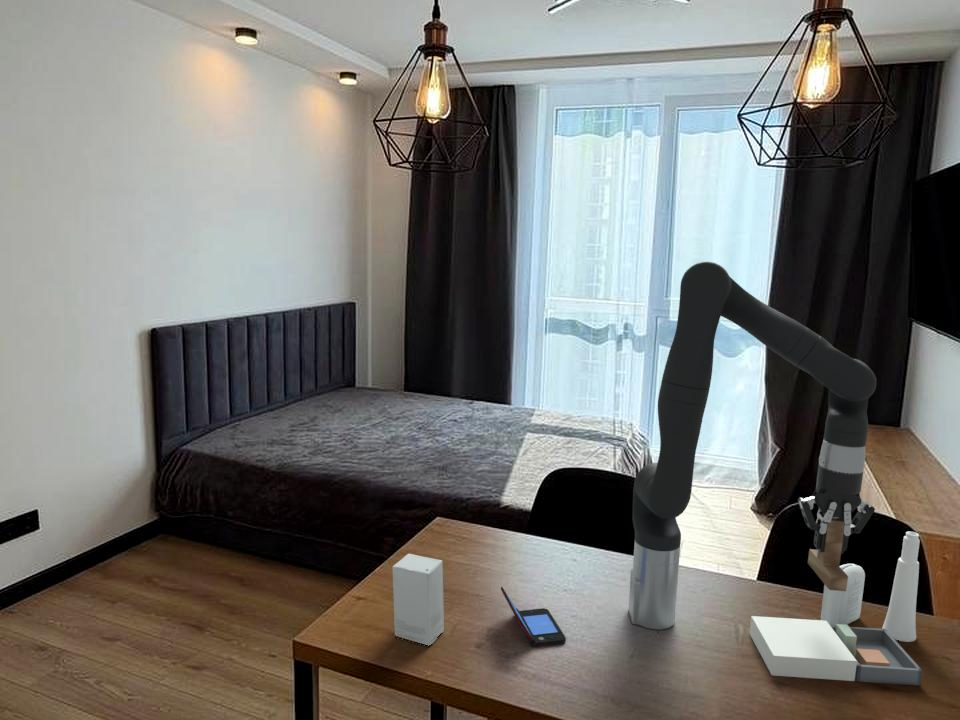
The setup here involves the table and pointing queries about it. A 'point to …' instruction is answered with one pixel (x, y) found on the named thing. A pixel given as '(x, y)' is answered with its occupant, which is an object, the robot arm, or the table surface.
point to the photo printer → (844, 598)
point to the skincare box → (418, 598)
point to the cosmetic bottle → (904, 592)
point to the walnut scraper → (830, 557)
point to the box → (900, 661)
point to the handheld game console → (537, 625)
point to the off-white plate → (802, 648)
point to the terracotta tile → (871, 657)
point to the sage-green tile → (847, 637)
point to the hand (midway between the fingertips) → (829, 550)
